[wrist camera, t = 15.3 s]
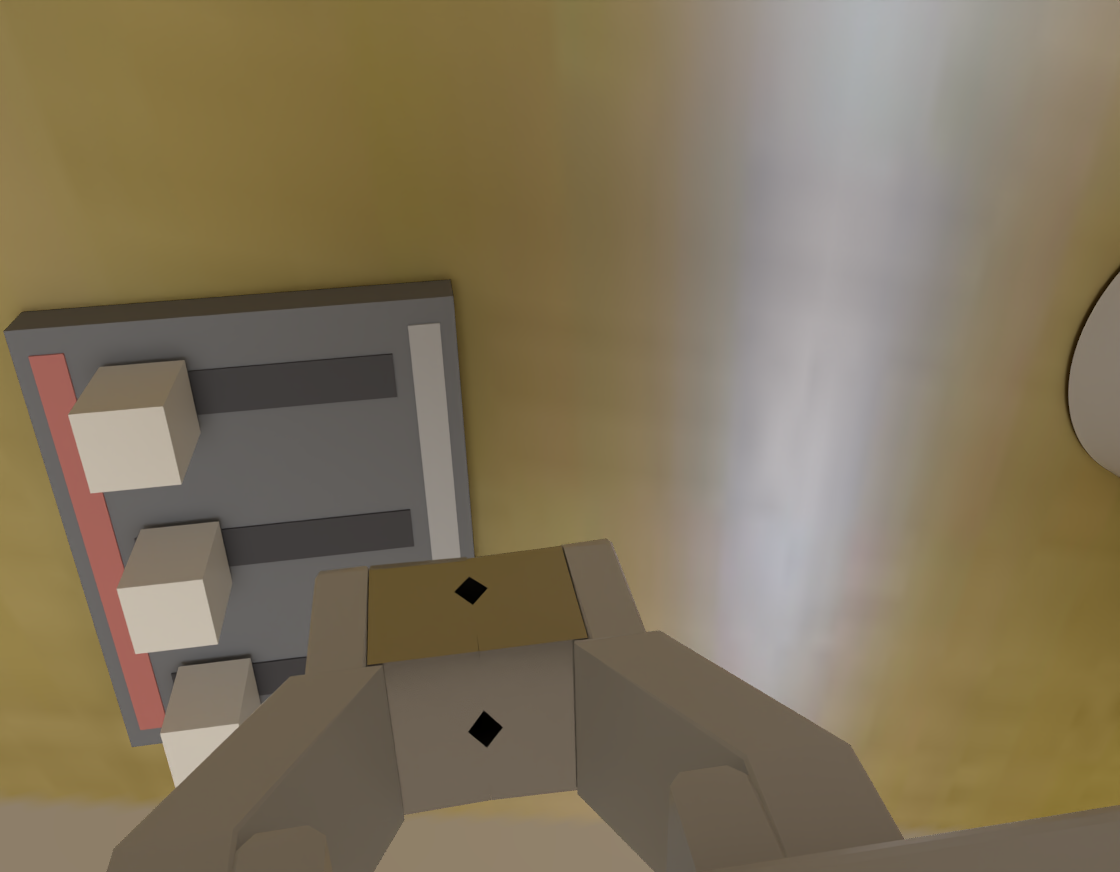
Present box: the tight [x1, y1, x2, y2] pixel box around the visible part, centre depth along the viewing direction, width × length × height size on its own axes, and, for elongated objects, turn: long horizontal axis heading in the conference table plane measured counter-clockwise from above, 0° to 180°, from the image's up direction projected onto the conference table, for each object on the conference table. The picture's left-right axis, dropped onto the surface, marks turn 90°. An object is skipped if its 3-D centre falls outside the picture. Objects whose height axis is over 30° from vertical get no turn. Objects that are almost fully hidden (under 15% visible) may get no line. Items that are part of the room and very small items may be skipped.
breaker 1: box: [68, 360, 201, 493], centre depth 35 cm, size 3×3×4 cm
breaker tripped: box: [117, 521, 232, 654], centre depth 38 cm, size 3×3×4 cm
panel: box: [4, 280, 474, 747], centre depth 41 cm, size 16×20×2 cm
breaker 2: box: [160, 658, 261, 787], centre depth 41 cm, size 3×3×4 cm
